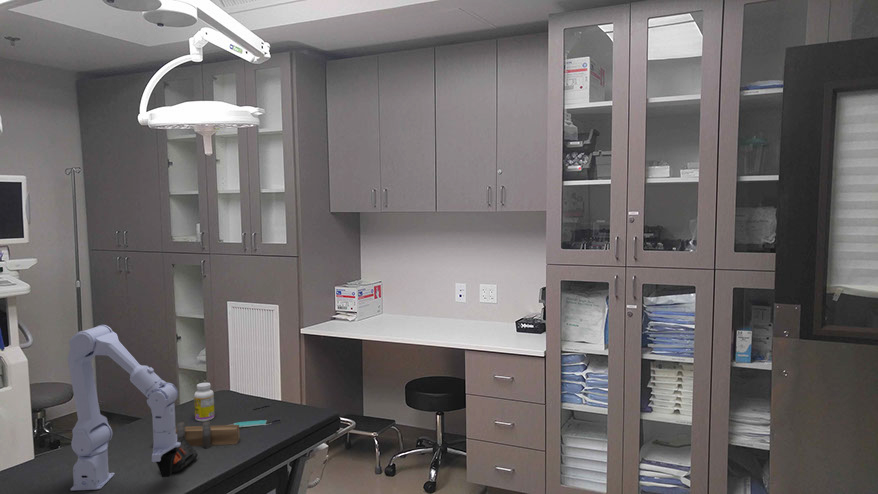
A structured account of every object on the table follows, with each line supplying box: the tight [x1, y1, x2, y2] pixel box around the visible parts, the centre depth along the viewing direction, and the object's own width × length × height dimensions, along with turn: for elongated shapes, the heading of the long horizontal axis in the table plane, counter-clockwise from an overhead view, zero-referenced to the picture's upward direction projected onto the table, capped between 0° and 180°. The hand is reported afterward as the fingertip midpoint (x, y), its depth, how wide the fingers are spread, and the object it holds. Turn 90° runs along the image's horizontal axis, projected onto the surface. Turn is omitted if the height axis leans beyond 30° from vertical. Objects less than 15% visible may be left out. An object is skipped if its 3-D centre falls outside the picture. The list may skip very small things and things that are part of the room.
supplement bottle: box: [193, 382, 215, 423], centre depth 222 cm, size 7×7×13 cm
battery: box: [172, 438, 199, 473], centre depth 183 cm, size 12×8×7 cm
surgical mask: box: [230, 405, 281, 429], centre depth 216 cm, size 21×4×10 cm
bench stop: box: [175, 420, 241, 449], centre depth 198 cm, size 6×26×8 cm, turn 95°
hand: (166, 476), depth 171 cm, fingers closed
